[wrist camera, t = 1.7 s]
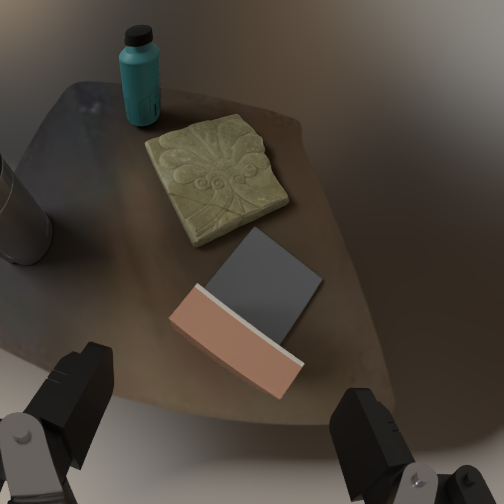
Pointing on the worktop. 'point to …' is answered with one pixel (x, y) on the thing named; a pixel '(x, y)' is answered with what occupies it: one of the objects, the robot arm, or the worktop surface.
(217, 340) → the terracotta tile
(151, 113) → the beverage bottle
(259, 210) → the decorative tile
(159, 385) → the worktop surface
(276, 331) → the mat
